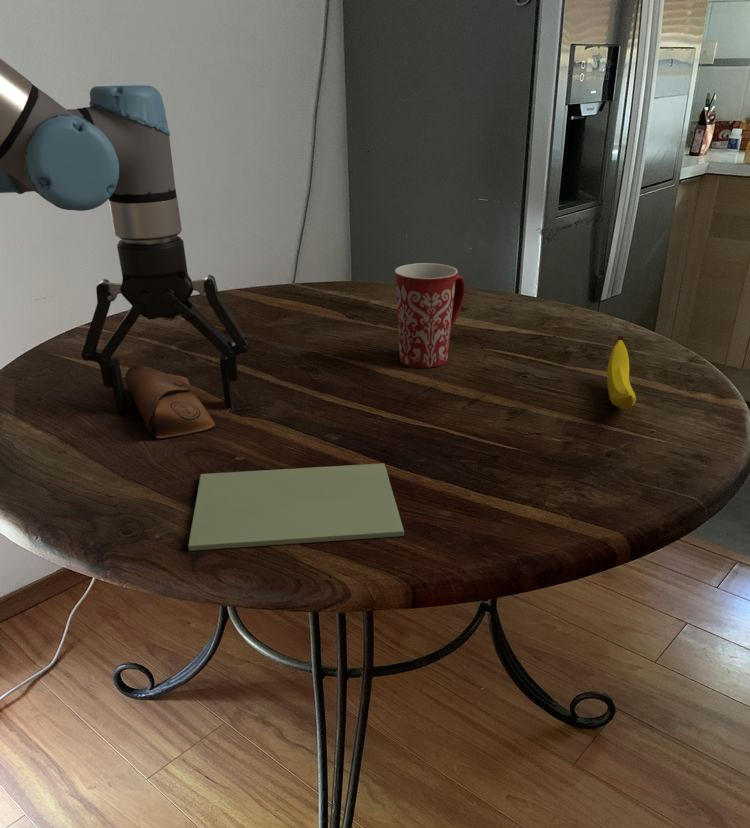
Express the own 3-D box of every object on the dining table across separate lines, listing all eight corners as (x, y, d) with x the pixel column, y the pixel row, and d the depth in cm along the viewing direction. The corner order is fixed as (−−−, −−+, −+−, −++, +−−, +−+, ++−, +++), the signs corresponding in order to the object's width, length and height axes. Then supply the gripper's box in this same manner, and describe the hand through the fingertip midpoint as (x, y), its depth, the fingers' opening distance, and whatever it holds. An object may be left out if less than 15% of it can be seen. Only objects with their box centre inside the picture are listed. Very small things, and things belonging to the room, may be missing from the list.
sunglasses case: (220, 424, 90) (186, 385, 86) (175, 460, 90) (139, 422, 86) (186, 377, 104) (156, 341, 100) (147, 408, 104) (115, 373, 100)
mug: (423, 375, 106) (426, 280, 99) (381, 359, 112) (381, 269, 105) (481, 355, 113) (487, 266, 107) (439, 342, 119) (442, 256, 112)
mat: (188, 551, 67) (187, 545, 67) (201, 478, 79) (200, 473, 79) (404, 536, 69) (404, 530, 69) (384, 467, 81) (384, 463, 81)
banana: (611, 433, 89) (620, 383, 86) (602, 377, 105) (609, 334, 102) (636, 435, 89) (645, 385, 85) (623, 379, 105) (631, 335, 101)
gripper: (258, 228, 90) (272, 390, 100) (46, 234, 87) (84, 400, 98) (257, 240, 83) (272, 412, 94) (28, 248, 81) (70, 424, 92)
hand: (176, 407), depth 96 cm, fingers open, 13 cm apart
